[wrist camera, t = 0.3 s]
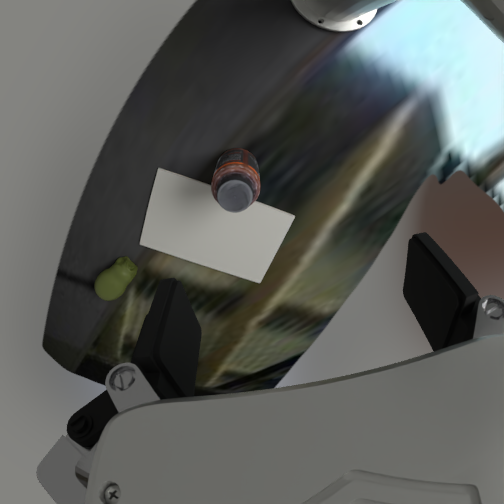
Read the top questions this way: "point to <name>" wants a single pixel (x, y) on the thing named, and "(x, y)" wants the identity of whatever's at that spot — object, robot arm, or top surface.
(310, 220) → the top surface
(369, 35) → the top surface
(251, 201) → the supplement bottle
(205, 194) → the mat
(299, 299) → the top surface
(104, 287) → the pear
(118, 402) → the robot arm
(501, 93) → the top surface
